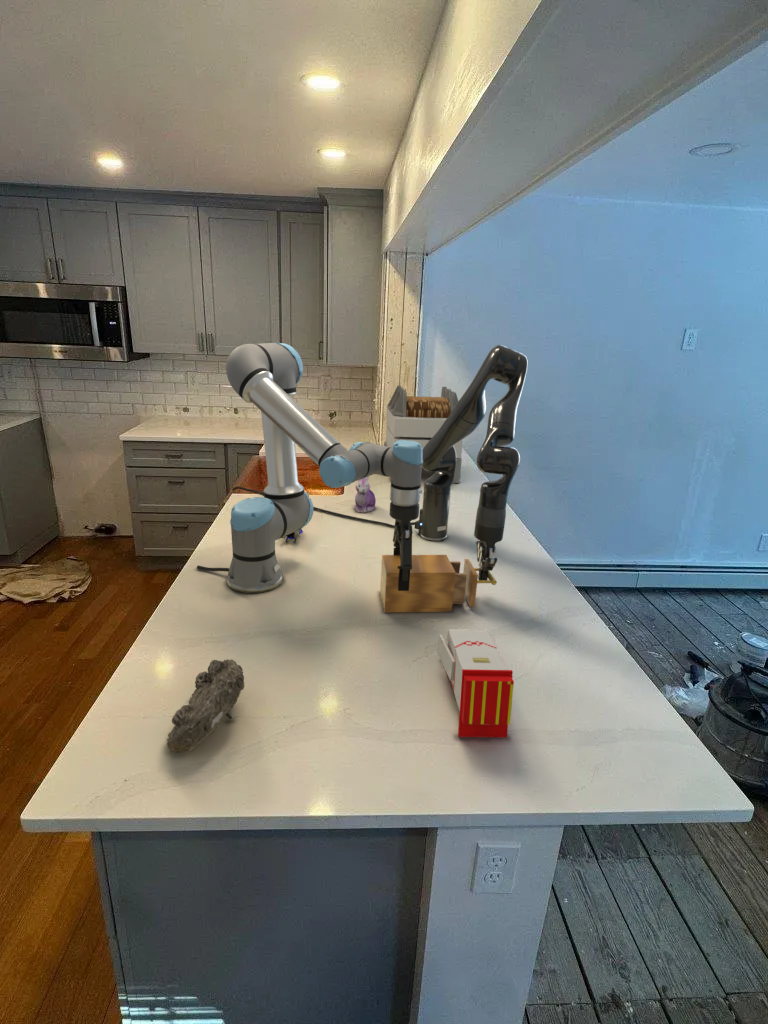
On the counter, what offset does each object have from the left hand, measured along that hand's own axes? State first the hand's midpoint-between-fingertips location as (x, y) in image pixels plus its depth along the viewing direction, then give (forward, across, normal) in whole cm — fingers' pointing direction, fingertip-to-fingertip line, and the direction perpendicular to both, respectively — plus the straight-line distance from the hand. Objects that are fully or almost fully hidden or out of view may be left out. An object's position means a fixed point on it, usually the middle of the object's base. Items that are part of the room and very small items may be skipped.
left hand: (400, 579), depth 151 cm
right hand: (+1, 0, -22) cm, 23 cm away
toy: (+7, -39, -10) cm, 41 cm away
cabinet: (+7, 0, -4) cm, 8 cm away
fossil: (+7, -44, +42) cm, 61 cm away
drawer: (+6, 0, -14) cm, 15 cm away
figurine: (+7, +74, +4) cm, 75 cm away
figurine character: (+7, +46, +31) cm, 55 cm away
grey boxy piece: (+7, +127, -26) cm, 130 cm away
